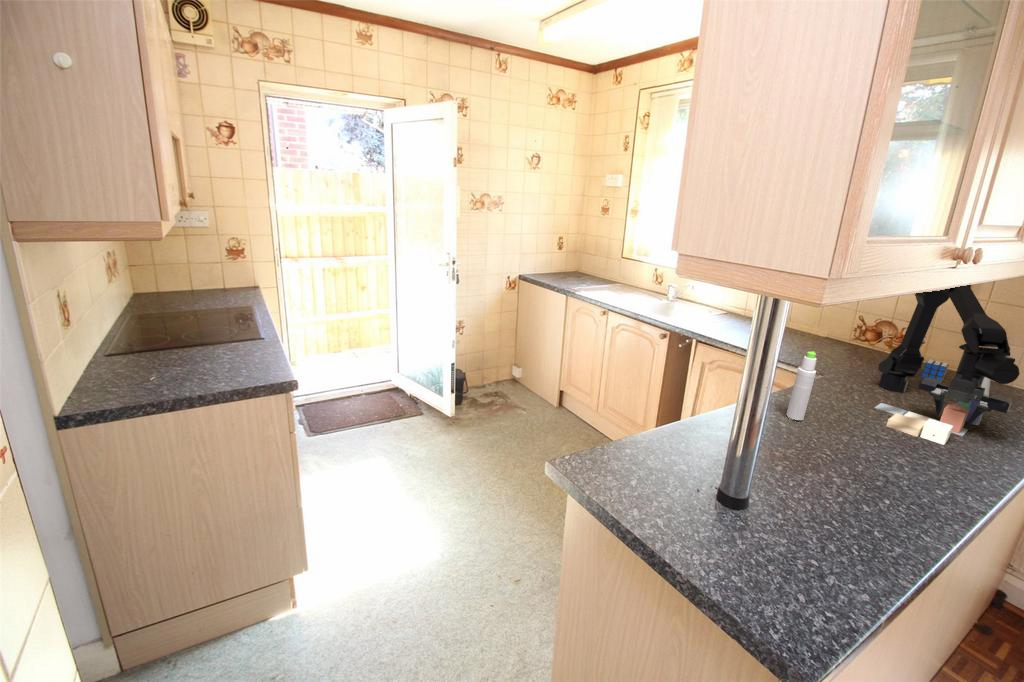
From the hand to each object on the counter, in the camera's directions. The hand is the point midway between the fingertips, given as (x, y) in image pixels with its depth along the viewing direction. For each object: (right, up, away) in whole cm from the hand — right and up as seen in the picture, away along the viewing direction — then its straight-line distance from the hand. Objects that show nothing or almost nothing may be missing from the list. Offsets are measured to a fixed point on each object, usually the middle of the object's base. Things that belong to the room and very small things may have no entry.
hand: (952, 421), depth 135 cm
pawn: (0, -2, +1) cm, 2 cm away
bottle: (-43, 0, +3) cm, 43 cm away
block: (-14, -2, -1) cm, 14 cm away
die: (-12, -1, -5) cm, 13 cm away
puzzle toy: (+32, +9, +43) cm, 54 cm away
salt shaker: (+29, +3, +23) cm, 37 cm away
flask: (+11, -1, +8) cm, 14 cm away
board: (-4, -1, +6) cm, 8 cm away
